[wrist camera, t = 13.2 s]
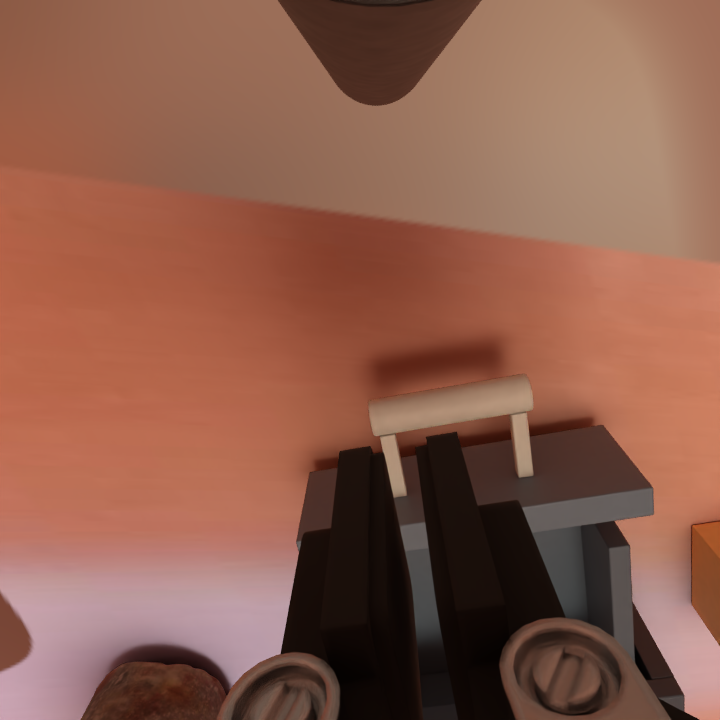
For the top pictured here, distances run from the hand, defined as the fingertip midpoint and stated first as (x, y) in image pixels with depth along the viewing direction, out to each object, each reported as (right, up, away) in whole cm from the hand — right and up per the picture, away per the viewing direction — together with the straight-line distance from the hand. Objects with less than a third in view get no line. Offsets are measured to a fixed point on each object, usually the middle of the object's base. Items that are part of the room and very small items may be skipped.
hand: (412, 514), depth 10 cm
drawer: (+4, -5, +17) cm, 18 cm away
